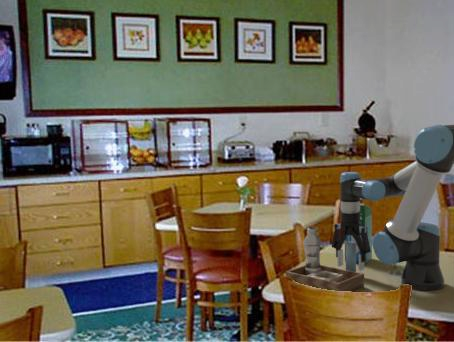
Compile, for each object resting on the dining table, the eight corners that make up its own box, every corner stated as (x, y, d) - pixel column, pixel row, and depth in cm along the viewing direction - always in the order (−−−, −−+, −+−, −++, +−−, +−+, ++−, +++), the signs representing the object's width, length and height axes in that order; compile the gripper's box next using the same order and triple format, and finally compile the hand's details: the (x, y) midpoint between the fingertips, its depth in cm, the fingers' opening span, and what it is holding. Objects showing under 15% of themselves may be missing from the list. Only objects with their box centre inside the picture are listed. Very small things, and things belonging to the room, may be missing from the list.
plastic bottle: (315, 282, 222) (314, 230, 220) (301, 279, 226) (300, 228, 224) (325, 278, 226) (324, 227, 224) (310, 275, 231) (309, 226, 229)
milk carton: (372, 258, 254) (371, 202, 251) (365, 263, 246) (364, 205, 244) (352, 256, 259) (351, 200, 256) (344, 261, 251) (344, 204, 249)
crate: (363, 286, 215) (363, 273, 214) (339, 297, 204) (339, 283, 203) (311, 275, 232) (310, 263, 231) (285, 284, 220) (285, 271, 220)
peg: (358, 274, 230) (357, 242, 229) (352, 277, 227) (352, 244, 226) (349, 273, 233) (349, 241, 232) (343, 275, 230) (343, 243, 229)
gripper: (380, 213, 223) (380, 270, 225) (332, 207, 238) (333, 261, 240) (369, 216, 217) (370, 274, 220) (321, 210, 233) (322, 265, 235)
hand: (350, 267), depth 230 cm, fingers open, 9 cm apart
